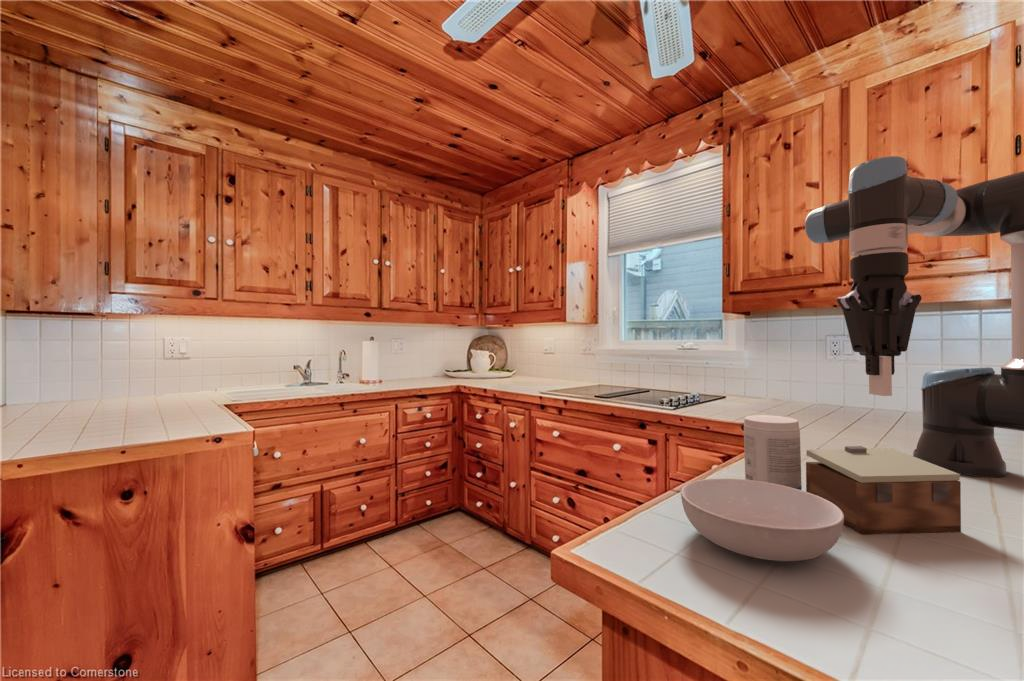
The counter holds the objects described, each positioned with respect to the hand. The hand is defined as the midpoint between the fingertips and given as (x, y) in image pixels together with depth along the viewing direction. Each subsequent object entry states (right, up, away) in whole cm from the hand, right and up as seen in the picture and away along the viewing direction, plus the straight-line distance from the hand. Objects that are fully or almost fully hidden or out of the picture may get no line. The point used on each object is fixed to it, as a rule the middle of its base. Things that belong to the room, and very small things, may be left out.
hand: (880, 394), depth 73 cm
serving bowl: (-26, -21, -9) cm, 35 cm away
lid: (0, -12, 0) cm, 12 cm away
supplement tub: (-11, -21, +13) cm, 27 cm away
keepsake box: (0, -21, 0) cm, 21 cm away
